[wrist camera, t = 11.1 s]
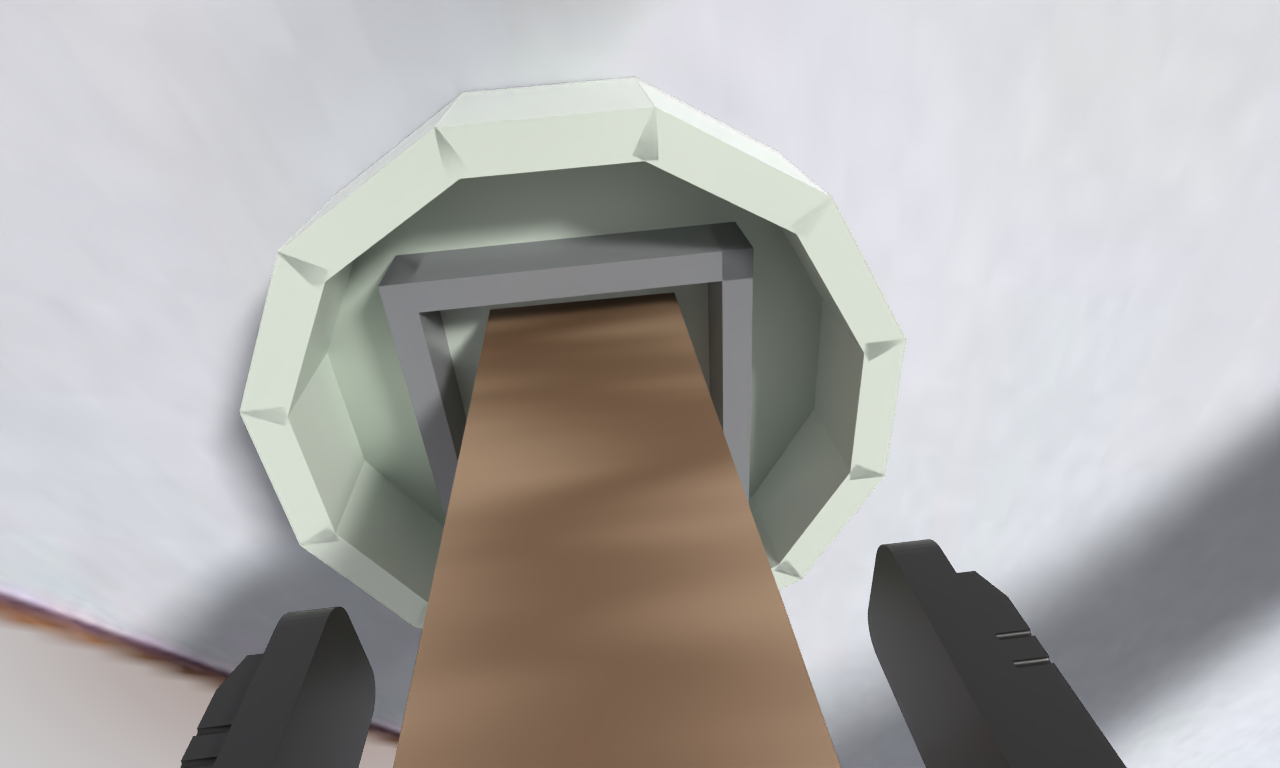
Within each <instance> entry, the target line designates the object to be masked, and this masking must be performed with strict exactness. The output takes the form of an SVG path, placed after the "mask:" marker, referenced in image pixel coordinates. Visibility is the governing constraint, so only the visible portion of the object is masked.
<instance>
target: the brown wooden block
mask: <svg viewBox="0 0 1280 768" xmlns="http://www.w3.org/2000/svg"><path fill="white" fill-rule="evenodd" d="M393 768H841V766H840V764H839V761H838V758H837V755H836V752H835V749H834V746H833V744H832V741H831V738H830V735H829V732H828V729H827V727H826V724H825V721H824V718H823V715H822V712H821V709H820V707H819V704H818V701H817V698H816V695H815V692H814V689H813V687H812V684H811V681H810V678H809V675H808V672H807V670H806V667H805V664H804V661H803V658H802V655H801V652H800V650H799V647H798V644H797V641H796V638H795V635H794V632H793V630H792V627H791V624H790V621H789V618H788V615H787V613H786V610H785V607H784V604H783V601H782V598H781V595H780V593H779V590H778V587H777V584H776V581H775V578H774V575H773V573H772V570H771V567H770V564H769V561H768V558H767V555H766V553H765V550H764V547H763V544H762V541H761V538H760V536H759V533H758V530H757V527H756V524H755V521H754V518H753V516H752V513H751V510H750V507H749V504H748V501H747V498H746V496H745V493H744V490H743V487H742V484H741V481H740V479H739V476H738V473H737V470H736V467H735V464H734V461H733V459H732V456H731V453H730V450H729V447H728V444H727V441H726V439H725V436H724V433H723V430H722V427H721V424H720V422H719V419H718V416H717V413H716V410H715V407H714V404H713V402H712V399H711V396H710V393H709V390H708V387H707V384H706V382H705V379H704V376H703V373H702V370H701V367H700V365H699V362H698V359H697V356H696V353H695V350H694V347H693V345H692V342H691V339H690V336H689V333H688V330H687V327H686V325H685V322H684V319H683V316H682V313H681V310H680V308H679V305H678V302H677V299H676V296H675V293H674V292H673V293H662V294H652V295H641V296H630V297H619V298H609V299H598V300H587V301H576V302H566V303H555V304H544V305H533V306H523V307H512V308H501V309H491V310H490V313H489V317H488V322H487V327H486V332H485V336H484V341H483V346H482V350H481V355H480V360H479V365H478V369H477V374H476V379H475V383H474V388H473V393H472V398H471V402H470V407H469V412H468V416H467V421H466V426H465V431H464V435H463V440H462V445H461V450H460V454H459V459H458V464H457V468H456V473H455V478H454V483H453V487H452V492H451V497H450V501H449V506H448V511H447V516H446V520H445V525H444V530H443V535H442V539H441V544H440V549H439V553H438V558H437V563H436V568H435V572H434V577H433V582H432V586H431V591H430V596H429V601H428V605H427V610H426V615H425V620H424V624H423V629H422V634H421V638H420V643H419V648H418V653H417V657H416V662H415V667H414V671H413V676H412V681H411V686H410V690H409V695H408V700H407V704H406V709H405V714H404V719H403V723H402V728H401V733H400V738H399V742H398V747H397V752H396V756H395V762H394V766H393Z"/></svg>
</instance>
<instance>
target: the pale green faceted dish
mask: <svg viewBox="0 0 1280 768" xmlns="http://www.w3.org/2000/svg"><path fill="white" fill-rule="evenodd" d="M673 292H674V293H675V296H676V299H677V302H678V305H679V308H680V310H681V313H682V316H683V319H684V322H685V325H686V327H687V330H688V333H689V336H690V339H691V342H692V345H693V347H694V350H695V353H696V356H697V359H698V362H699V365H700V367H701V370H702V373H703V376H704V379H705V382H706V384H707V387H708V390H709V393H710V396H711V399H712V402H713V404H714V407H715V410H716V413H717V416H718V419H719V422H720V424H721V427H722V430H723V433H724V436H725V439H726V441H727V444H728V447H729V450H730V453H731V456H732V459H733V461H734V464H735V467H736V470H737V473H738V476H739V479H740V481H741V484H742V487H743V490H744V493H745V496H746V498H747V501H748V504H749V507H750V510H751V513H752V516H753V518H754V521H755V524H756V527H757V530H758V533H759V536H760V538H761V541H762V544H763V547H764V550H765V553H766V555H767V558H768V561H769V564H770V567H771V570H772V573H773V575H774V578H775V581H776V584H777V587H778V590H781V589H783V588H785V587H787V586H789V585H791V584H793V583H795V582H797V581H799V580H801V579H803V577H804V576H805V574H806V573H807V572H808V571H809V570H810V568H811V567H812V566H813V565H814V563H815V562H816V561H817V560H818V558H819V557H820V556H821V555H822V553H823V552H824V551H825V550H826V548H827V547H828V546H829V545H830V543H831V542H832V541H833V540H834V539H835V537H836V536H837V535H838V534H839V532H840V531H841V530H842V529H843V527H844V526H845V525H846V524H847V522H848V521H849V520H850V519H851V517H852V516H853V515H854V514H855V512H856V511H857V510H858V509H859V508H860V506H861V505H862V504H863V503H864V501H865V500H866V499H867V498H868V496H869V495H870V494H871V493H872V491H873V490H874V489H875V488H876V486H877V485H878V484H879V483H880V481H881V480H882V479H883V478H884V477H885V474H886V467H887V460H888V454H889V447H890V441H891V434H892V428H893V421H894V415H895V408H896V402H897V395H898V389H899V382H900V375H901V369H902V362H903V356H904V349H905V343H906V338H905V336H904V334H903V332H902V330H901V329H900V327H899V325H898V323H897V321H896V319H895V317H894V315H893V313H892V311H891V309H890V307H889V305H888V304H887V302H886V300H885V298H884V296H883V294H882V292H881V290H880V288H879V286H878V284H877V282H876V280H875V278H874V277H873V275H872V273H871V271H870V269H869V267H868V265H867V263H866V261H865V259H864V257H863V255H862V253H861V252H860V250H859V248H858V246H857V244H856V242H855V240H854V238H853V236H852V234H851V232H850V230H849V228H848V227H847V225H846V223H845V221H844V219H843V217H842V215H841V213H840V211H839V209H838V207H837V205H836V203H835V201H834V200H833V197H832V196H831V195H829V194H828V193H827V192H826V191H825V190H823V189H822V188H821V187H820V186H819V185H817V184H816V183H815V182H814V181H813V180H811V179H810V178H809V177H808V176H807V175H805V174H804V173H803V172H802V171H801V170H799V169H798V168H797V167H796V166H795V165H793V164H792V163H791V162H790V161H789V160H787V159H786V158H785V157H784V156H783V155H781V154H780V153H779V152H778V151H777V150H774V149H772V148H770V147H768V146H766V145H765V144H763V143H761V142H759V141H757V140H755V139H753V138H751V137H749V136H747V135H745V134H743V133H741V132H740V131H738V130H736V129H734V128H732V127H730V126H728V125H726V124H724V123H722V122H720V121H718V120H716V119H714V118H713V117H711V116H709V115H707V114H705V113H703V112H701V111H699V110H697V109H695V108H693V107H691V106H689V105H688V104H686V103H684V102H682V101H680V100H678V99H676V98H674V97H672V96H670V95H668V94H666V93H664V92H663V91H661V90H659V89H657V88H655V87H653V86H651V85H649V84H647V83H645V82H643V81H641V80H639V79H638V78H636V77H629V78H618V79H606V80H595V81H584V82H573V83H561V84H550V85H539V86H528V87H517V88H505V89H494V90H483V91H472V92H462V94H460V95H459V96H458V97H457V98H455V99H454V100H453V101H452V102H450V103H449V104H448V105H447V106H445V107H444V108H443V109H442V110H440V111H439V112H438V113H437V114H435V115H434V116H433V117H432V118H430V119H429V120H428V121H427V122H425V123H424V124H423V125H422V126H420V127H419V128H418V129H417V130H415V131H414V132H413V133H412V134H410V135H409V136H408V137H407V138H405V139H404V140H403V141H402V142H400V143H399V144H398V145H397V146H395V147H394V148H393V149H392V150H390V151H389V152H388V153H387V154H385V155H384V156H383V157H382V158H380V159H379V160H378V161H377V162H375V163H374V164H373V165H372V166H370V167H369V168H368V169H367V170H365V171H364V172H363V173H362V174H360V175H359V176H358V177H357V178H355V179H354V180H353V181H352V182H350V183H349V184H348V185H347V186H345V187H344V188H343V189H342V190H340V191H339V192H337V193H336V194H335V195H334V196H333V197H332V198H331V199H330V200H329V201H328V202H327V203H326V204H325V205H324V206H323V207H322V208H321V209H320V210H319V211H318V212H317V213H316V214H315V215H314V216H313V217H312V218H311V219H310V220H309V221H308V222H307V223H306V224H305V225H304V226H303V227H302V228H301V229H300V230H299V231H298V232H297V233H296V234H295V235H294V236H293V237H292V238H291V239H290V240H289V241H288V242H287V243H286V244H285V245H284V246H283V247H282V248H281V249H280V250H279V251H278V252H277V256H276V260H275V265H274V269H273V273H272V277H271V281H270V286H269V290H268V294H267V298H266V302H265V307H264V311H263V315H262V319H261V323H260V328H259V332H258V336H257V340H256V344H255V349H254V353H253V357H252V361H251V365H250V370H249V374H248V378H247V382H246V386H245V391H244V395H243V399H242V403H241V407H240V411H239V413H240V415H241V417H242V419H243V421H244V424H245V426H246V428H247V430H248V432H249V435H250V437H251V439H252V441H253V443H254V446H255V448H256V450H257V452H258V454H259V457H260V459H261V461H262V463H263V465H264V468H265V470H266V472H267V474H268V476H269V479H270V481H271V483H272V485H273V487H274V490H275V492H276V494H277V496H278V498H279V501H280V503H281V505H282V507H283V509H284V512H285V514H286V516H287V518H288V520H289V523H290V525H291V527H292V529H293V531H294V534H295V536H296V538H297V540H298V542H299V545H300V546H301V547H303V548H304V549H306V550H307V551H308V552H310V553H311V554H313V555H314V556H315V557H317V558H318V559H320V560H321V561H322V562H324V563H325V564H327V565H328V566H329V567H331V568H332V569H334V570H335V571H336V572H338V573H339V574H341V575H342V576H343V577H345V578H346V579H348V580H349V581H350V582H352V583H353V584H355V585H356V586H357V587H359V588H360V589H362V590H363V591H364V592H366V593H367V594H369V595H370V596H371V597H373V598H374V599H376V600H377V601H378V602H380V603H381V604H383V605H384V606H385V607H387V608H388V609H390V610H391V611H392V612H394V613H395V614H397V615H398V616H399V617H401V618H402V619H404V620H405V621H406V622H408V623H409V624H410V625H412V626H413V627H415V628H419V629H423V624H424V620H425V615H426V610H427V605H428V601H429V596H430V591H431V586H432V582H433V577H434V572H435V568H436V563H437V558H438V553H439V549H440V544H441V539H442V535H443V530H444V525H445V520H446V516H447V511H448V506H449V501H450V497H451V492H452V487H453V483H454V478H455V473H456V468H457V464H458V459H459V454H460V450H461V445H462V440H463V435H464V431H465V426H466V421H467V416H468V412H469V407H470V402H471V398H472V393H473V388H474V383H475V379H476V374H477V369H478V365H479V360H480V355H481V350H482V346H483V341H484V336H485V332H486V327H487V322H488V317H489V313H490V310H491V309H501V308H512V307H523V306H533V305H544V304H555V303H566V302H576V301H587V300H598V299H609V298H619V297H630V296H641V295H652V294H662V293H673Z"/></svg>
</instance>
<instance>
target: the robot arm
mask: <svg viewBox="0 0 1280 768" xmlns="http://www.w3.org/2000/svg"><path fill="white" fill-rule="evenodd" d="M868 625H869V631H870V636H871V641H872V644H873V647H874V650H875V653H876V655H877V658H878V660H879V662H880V664H881V667H882V669H883V671H884V673H885V676H886V678H887V680H888V682H889V685H890V687H891V689H892V691H893V694H894V696H895V698H896V700H897V703H898V705H899V707H900V709H901V712H902V714H903V716H904V718H905V721H906V723H907V725H908V727H909V730H910V732H911V734H912V736H913V739H914V741H915V743H916V745H917V748H918V750H919V752H920V754H921V757H922V759H923V761H924V764H925V766H926V768H1126V766H1125V765H1124V763H1123V762H1122V760H1121V759H1120V758H1119V756H1118V755H1117V753H1116V752H1115V750H1114V749H1113V747H1112V746H1111V745H1110V743H1109V742H1108V740H1107V739H1106V737H1105V736H1104V735H1103V733H1102V732H1101V730H1100V729H1099V727H1098V726H1097V724H1096V723H1095V722H1094V720H1093V719H1092V717H1091V716H1090V714H1089V713H1088V712H1087V710H1086V709H1085V707H1084V706H1083V704H1082V703H1081V701H1080V700H1079V699H1078V697H1077V696H1076V694H1075V693H1074V691H1073V690H1072V688H1071V687H1070V686H1069V684H1068V683H1067V681H1066V680H1065V678H1064V677H1063V676H1062V674H1061V673H1060V671H1059V670H1058V668H1057V667H1056V665H1055V664H1054V663H1051V662H1050V660H1049V655H1048V654H1047V653H1046V651H1045V650H1044V648H1043V647H1042V645H1041V644H1040V642H1039V641H1038V640H1037V638H1036V637H1035V636H1032V635H1031V633H1030V628H1029V627H1028V625H1027V624H1026V622H1025V621H1024V619H1023V618H1022V617H1021V615H1020V614H1019V612H1018V611H1017V609H1016V608H1015V607H1014V605H1013V604H1012V602H1011V601H1010V599H1009V598H1008V597H1007V596H1006V595H1005V594H1003V593H1002V592H1001V591H1000V590H998V589H997V588H996V587H995V586H993V585H992V584H991V583H989V582H988V581H987V580H986V579H984V578H983V577H982V576H981V575H979V574H978V573H977V572H976V571H971V572H962V573H956V572H955V570H954V568H953V567H952V565H951V564H950V562H949V561H948V559H947V557H946V556H945V554H944V553H943V551H942V550H941V548H940V547H939V545H938V544H937V543H936V542H934V541H933V540H930V539H927V540H919V541H910V542H901V543H893V544H884V545H881V546H879V548H878V550H877V554H876V561H875V567H874V574H873V581H872V588H871V594H870V601H869V608H868ZM374 704H375V680H374V674H373V670H372V668H371V665H370V663H369V661H368V659H367V656H366V654H365V652H364V650H363V647H362V645H361V643H360V641H359V638H358V636H357V634H356V632H355V629H354V627H353V625H352V623H351V620H350V618H349V616H348V614H347V612H346V611H345V609H344V608H342V607H331V608H323V609H314V610H306V611H297V612H289V613H287V614H285V615H284V616H283V617H282V618H281V619H280V620H279V622H278V624H277V626H276V628H275V630H274V632H273V635H272V637H271V639H270V641H269V643H268V646H267V648H266V650H265V652H264V654H257V655H248V656H246V658H245V659H244V660H243V661H242V662H241V663H240V664H239V665H238V666H237V668H236V669H235V670H234V671H233V672H232V673H231V674H230V675H229V676H228V678H227V679H226V680H225V681H224V682H223V683H222V684H221V685H220V686H219V688H218V689H217V690H216V692H215V694H214V696H213V698H212V700H211V702H210V704H209V706H208V708H207V710H206V712H205V714H204V716H203V718H202V720H201V722H200V724H199V726H198V728H197V729H198V733H197V735H196V736H193V738H192V740H191V742H190V744H189V746H188V748H187V750H186V752H185V754H184V756H183V758H182V760H181V762H182V765H181V768H358V767H359V763H360V760H361V756H362V752H363V748H364V745H365V741H366V737H367V734H368V730H369V726H370V723H371V719H372V715H373V711H374Z"/></svg>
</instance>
